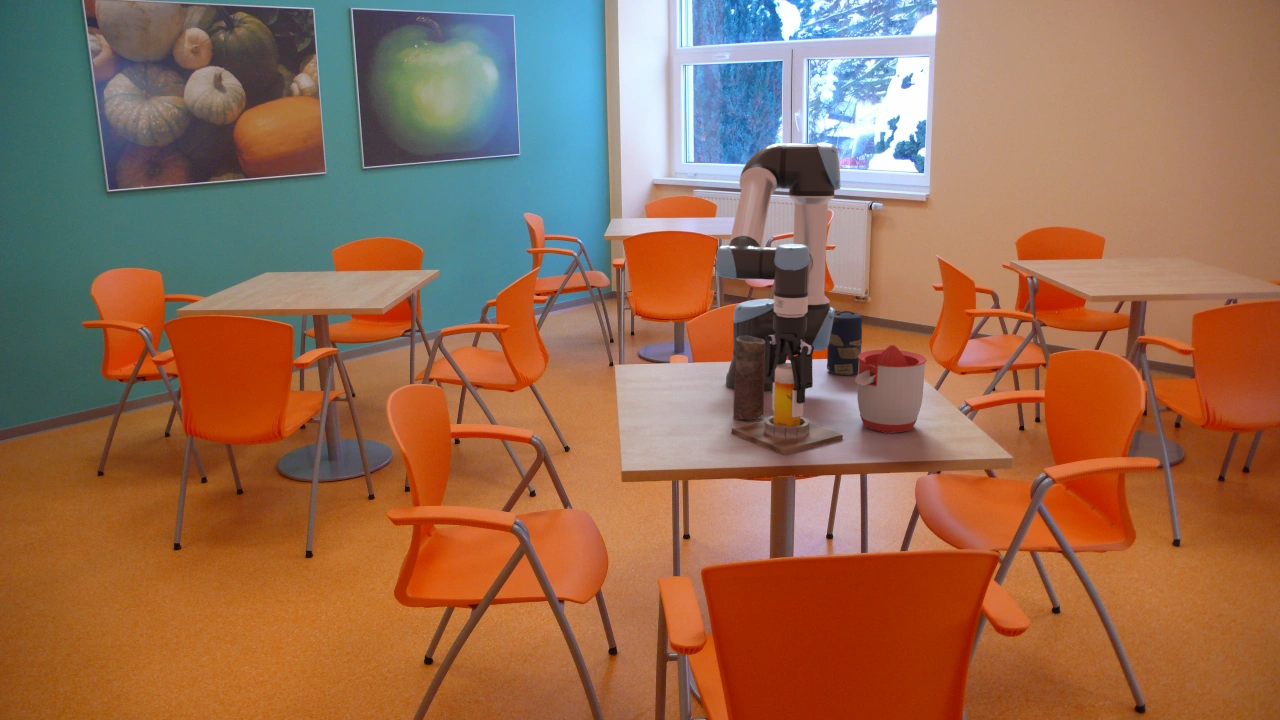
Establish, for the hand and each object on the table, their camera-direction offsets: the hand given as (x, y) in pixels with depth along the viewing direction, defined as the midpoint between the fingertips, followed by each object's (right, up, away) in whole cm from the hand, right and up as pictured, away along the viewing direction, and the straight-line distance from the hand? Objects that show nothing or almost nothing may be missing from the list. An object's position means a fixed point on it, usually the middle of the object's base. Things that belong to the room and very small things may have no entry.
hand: (787, 412), depth 227 cm
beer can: (0, -4, +1) cm, 4 cm away
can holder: (0, -6, +1) cm, 6 cm away
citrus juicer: (+24, -4, +8) cm, 26 cm away
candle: (-7, -2, +15) cm, 17 cm away
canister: (+24, +8, +55) cm, 61 cm away
